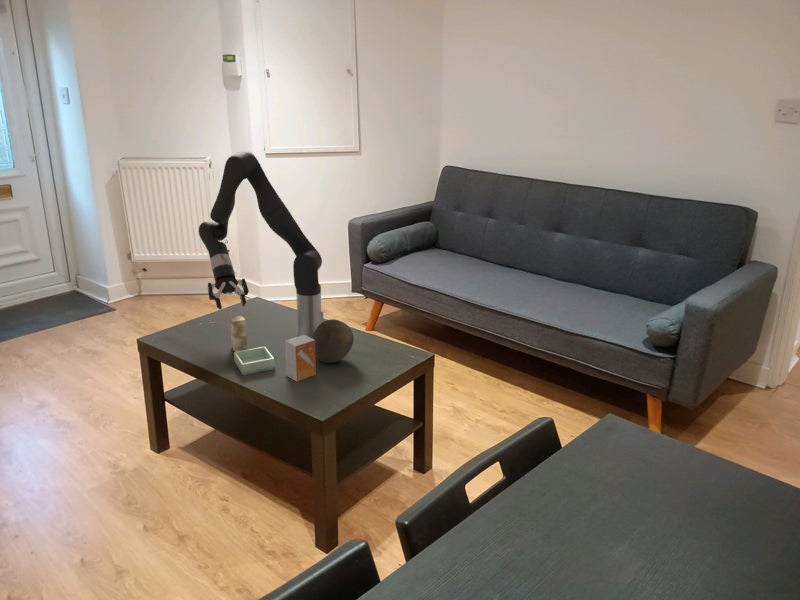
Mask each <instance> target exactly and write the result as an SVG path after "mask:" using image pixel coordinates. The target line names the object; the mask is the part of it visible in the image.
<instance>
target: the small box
mask: <svg viewBox="0 0 800 600" xmlns="http://www.w3.org/2000/svg"><path fill="white" fill-rule="evenodd" d="M284 349H285V350H284V352H285V355H284V357H285V376H286V377H288V378H289V379H292V380H293V381H295V382H296V383H297V382H299V381H300V382H301V381H302V380H305V379H308V378H310V377H313V376H316V374H317V373H316V370H317V369H316V368H317V367H316V355H315V340H314V339H313V338H310V337H308V336H306V335H302V336H299V335H298V336H295V337H292V338H289V339H287V340H284Z"/></svg>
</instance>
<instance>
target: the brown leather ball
mask: <svg viewBox="0 0 800 600" xmlns="http://www.w3.org/2000/svg"><path fill="white" fill-rule="evenodd" d="M354 337H355V335H354V333H353V331H352V328H351V327H350V326H349V325H348V324H347V323H345V322H343V321H341V320H339V319H327V320H325V321H324V322H322V323H321V324H320V325H319V326H318V327H317V328H316V330H315V332H314V334H313V338H312V339H314V340H315V358H317V359H318V360H319V361H321V362H323V363H326V364H333V363H336V362H339V361H341V360H342V359H344V358H345V357H346V356H347V355H348V354H349V353H350V351H351V349H352V347H353V344H354Z"/></svg>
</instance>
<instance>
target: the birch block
mask: <svg viewBox="0 0 800 600" xmlns="http://www.w3.org/2000/svg"><path fill="white" fill-rule="evenodd" d="M229 324H230V325H229V327H230V337H231V338H230V339H231V349H232V348H233V349H232V350H233V352H234V351H235V352H237V351H243V350H248V339H247V325H246V324H247V323H246V319H245V318H244V316H243V315H236V316H231V317H229Z"/></svg>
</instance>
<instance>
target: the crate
mask: <svg viewBox="0 0 800 600" xmlns="http://www.w3.org/2000/svg"><path fill="white" fill-rule="evenodd" d="M233 355H234V357H233V359H234V363H235V365H236V367H237V368H238V369H239V372H240V373H241V374H242V375H243V376H246V375H251V374H255V373H256V374H257V373H261V371H262V372H266V371H272V370H275V368H276V367H275V357H274V356H273V355H272V353H271V352H270V351H269V350H268V348H267V347H266V346H260V347H254V348H249V349H248V348H247V350H243V351H237V352H234V351H233Z"/></svg>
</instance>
